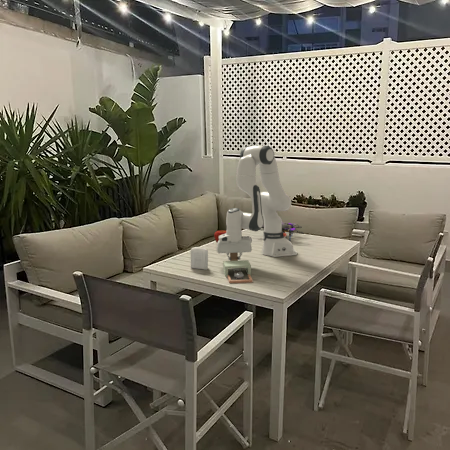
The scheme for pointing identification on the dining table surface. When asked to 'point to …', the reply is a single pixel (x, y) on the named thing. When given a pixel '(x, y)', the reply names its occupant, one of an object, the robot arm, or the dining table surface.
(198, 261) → the photo printer
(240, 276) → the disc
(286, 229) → the drone
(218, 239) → the apple
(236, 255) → the wooden handled metal tool
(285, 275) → the dining table surface
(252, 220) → the robot arm
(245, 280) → the frame
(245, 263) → the stand
